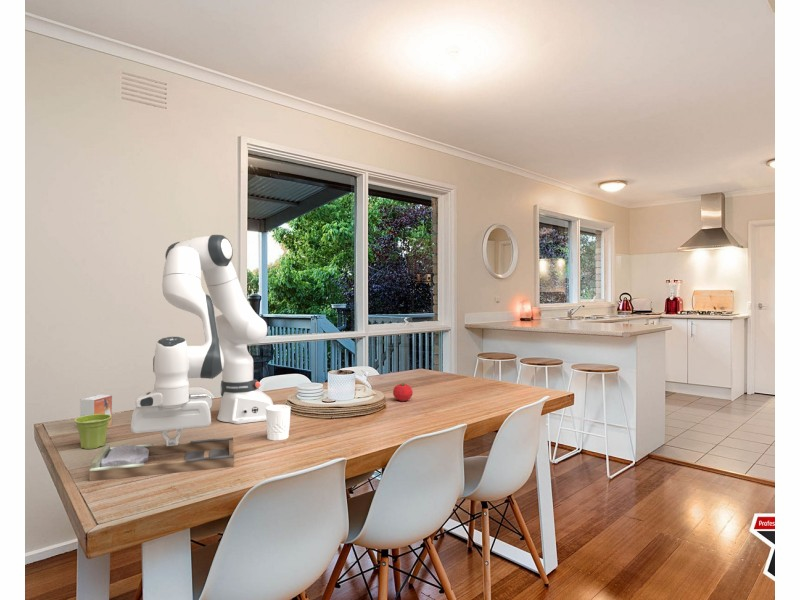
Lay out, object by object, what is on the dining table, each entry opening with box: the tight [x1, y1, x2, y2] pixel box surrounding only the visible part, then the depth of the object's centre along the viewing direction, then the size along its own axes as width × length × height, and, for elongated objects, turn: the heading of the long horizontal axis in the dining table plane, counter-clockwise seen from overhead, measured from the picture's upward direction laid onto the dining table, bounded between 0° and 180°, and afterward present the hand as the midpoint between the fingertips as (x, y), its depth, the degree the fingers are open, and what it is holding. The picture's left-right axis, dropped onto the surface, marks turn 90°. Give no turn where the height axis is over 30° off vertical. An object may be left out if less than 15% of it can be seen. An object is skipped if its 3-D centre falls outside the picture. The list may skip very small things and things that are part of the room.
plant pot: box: [74, 414, 111, 450], centre depth 145 cm, size 9×9×9 cm
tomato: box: [392, 382, 414, 402], centre depth 214 cm, size 9×9×8 cm
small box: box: [79, 394, 113, 427], centre depth 165 cm, size 8×6×10 cm
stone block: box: [101, 444, 149, 467], centre depth 131 cm, size 12×5×10 cm
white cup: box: [265, 404, 292, 442], centre depth 157 cm, size 8×8×10 cm
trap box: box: [89, 437, 235, 482], centre depth 134 cm, size 34×18×4 cm, turn 110°
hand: (172, 445), depth 134 cm, fingers closed
